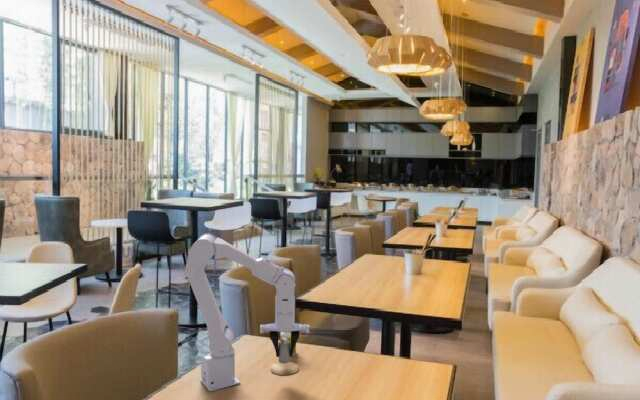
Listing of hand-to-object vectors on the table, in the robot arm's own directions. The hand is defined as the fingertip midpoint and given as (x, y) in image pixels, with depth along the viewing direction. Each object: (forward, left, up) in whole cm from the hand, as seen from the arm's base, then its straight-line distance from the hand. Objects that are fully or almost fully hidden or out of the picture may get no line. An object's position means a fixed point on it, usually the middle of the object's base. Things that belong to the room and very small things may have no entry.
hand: (284, 355), depth 149 cm
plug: (0, 0, -2) cm, 2 cm away
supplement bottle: (+11, +17, -8) cm, 22 cm away
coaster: (+4, +7, -8) cm, 11 cm away
